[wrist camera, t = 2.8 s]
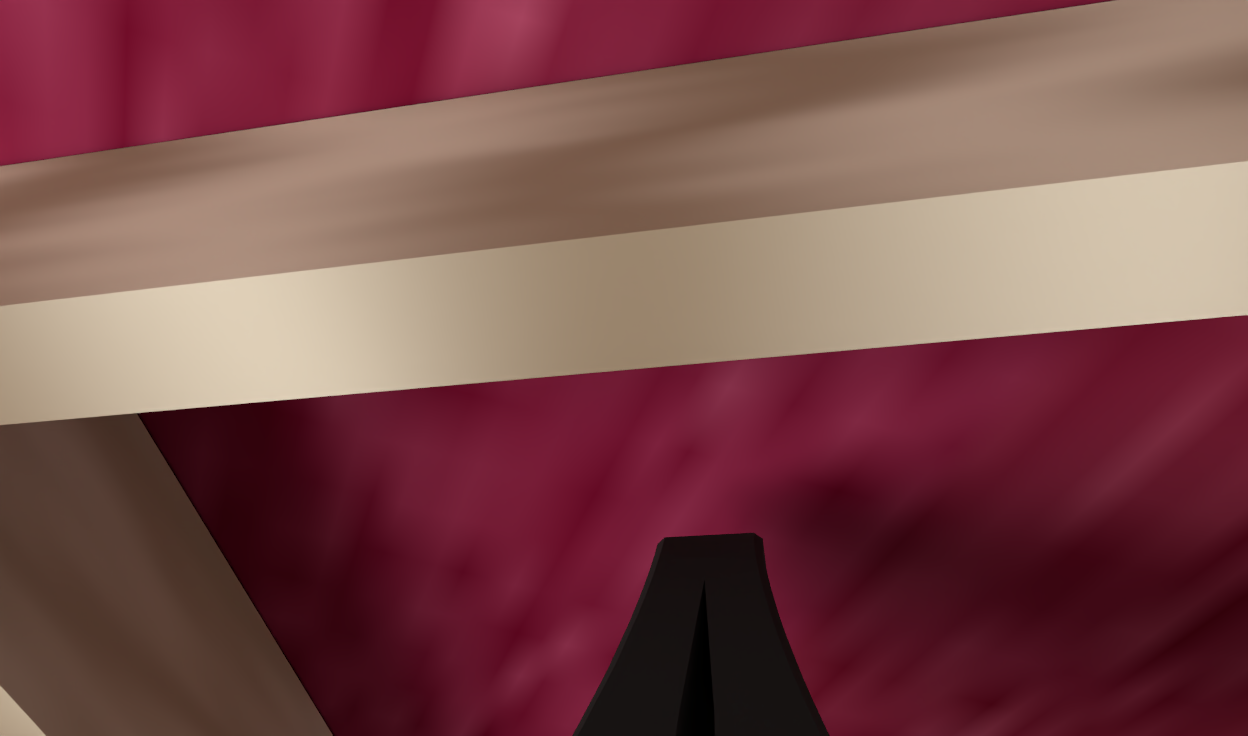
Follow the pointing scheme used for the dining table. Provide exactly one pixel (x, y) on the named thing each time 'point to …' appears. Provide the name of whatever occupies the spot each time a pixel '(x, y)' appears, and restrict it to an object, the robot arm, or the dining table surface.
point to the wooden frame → (560, 283)
